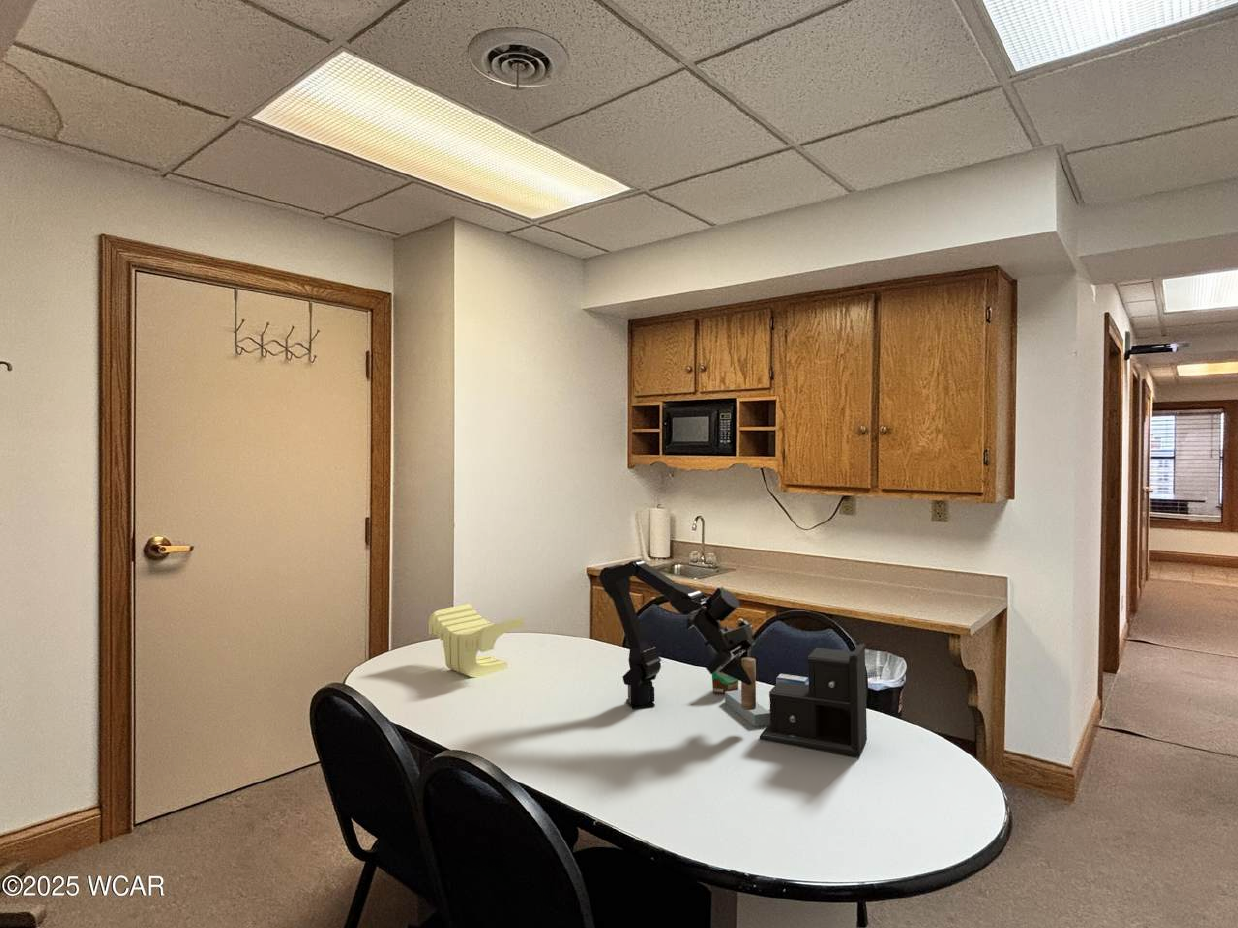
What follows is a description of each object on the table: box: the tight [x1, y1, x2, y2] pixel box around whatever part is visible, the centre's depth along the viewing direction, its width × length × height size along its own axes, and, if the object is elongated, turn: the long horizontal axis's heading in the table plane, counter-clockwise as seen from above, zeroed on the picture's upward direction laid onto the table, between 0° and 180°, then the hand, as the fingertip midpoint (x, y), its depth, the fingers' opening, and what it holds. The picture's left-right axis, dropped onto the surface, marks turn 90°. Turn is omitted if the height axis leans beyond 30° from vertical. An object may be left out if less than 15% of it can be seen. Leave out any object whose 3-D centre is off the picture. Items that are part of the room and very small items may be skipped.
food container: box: [711, 666, 740, 696], centre depth 205 cm, size 12×6×10 cm, turn 143°
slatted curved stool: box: [428, 603, 525, 678], centre depth 229 cm, size 30×16×18 cm, turn 46°
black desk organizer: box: [759, 643, 868, 758], centre depth 170 cm, size 23×11×24 cm, turn 62°
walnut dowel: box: [740, 657, 757, 710], centre depth 177 cm, size 4×4×12 cm
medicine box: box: [775, 673, 809, 685], centre depth 191 cm, size 8×4×9 cm, turn 62°
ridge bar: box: [724, 689, 770, 728], centre depth 188 cm, size 4×18×3 cm, turn 16°
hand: (753, 681), depth 176 cm, fingers closed on walnut dowel, 4 cm apart
